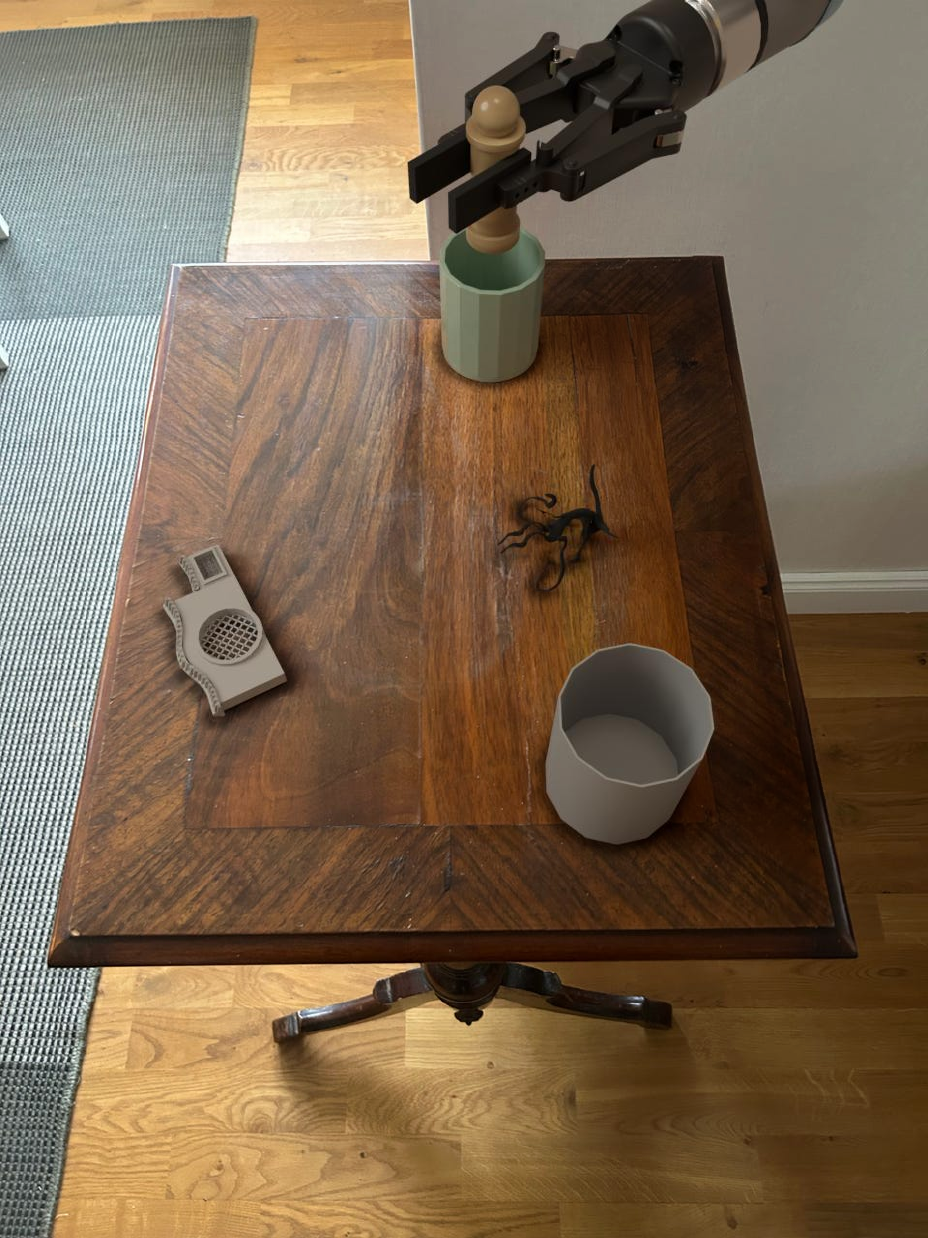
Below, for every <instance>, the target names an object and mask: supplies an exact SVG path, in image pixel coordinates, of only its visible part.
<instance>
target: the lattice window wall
mask: <svg viewBox="0 0 928 1238" xmlns="http://www.w3.org/2000/svg"><path fill="white" fill-rule="evenodd" d="M178 564H179V566H180V567H181V569H182V570H183V571H184V573H185V574H186V575H187V578H188V579H189V584H190V587H191V591H192V592H191V593H189V594H185V595H184V596H181V597H179V598H176V599H175V600H172V598H171V597H170V596H168V597H165V598H164V603H163V604H162V608H163V609H164V611H165V612H166V614H167V616H168V617H169V619H170V620H171V622H172V624H173V626H174V628H175V633H176V635H175V637H176V640H175V654H176V661H177V663H178V664H179V668H180V669H181V670H182V671H183V672H184V673H185V674H187V675H188V676H189V677H190V678H191V679H192V680H194V681H195V682H196V683H197V684H198V685H200V687H201V688H202V690H203V692H204V693H205V694H206V697H207V701H208V703H209V707H210V710H211V713H212V716H213V717H214V718H216V717H226V713H225V711H226V710H228V709H230V708H233V707H235V706H237V705H240V704H242V703H243V702H246V701H247V700H249V699H252V698H254V697H255V696H259V695H261V694H263V693H265V692H266V691H269V690H271V689H273V688H275V687H278V686H279V685H281V684H284V683H286V682H287V681H288V680H287V676H286V673H285V671H284V669H283V668H282V666H281V664H280V662H279V660H278V657H277V656H276V654H275V652H274V649H273V648H272V645H271V644H270V643H269V640H268V638H267V637H266V633H265V630H264V627H263V625H262V622H261V619H260V618H259V616H258V615H257V614H256V613H255V612H254V611H253V609H252V607H251V605H250V603H249V601H248V599H247V597H246V595H245V593H244V591H243V589H242V587H241V585H240V583H239V581H238V580H237V577H236V575H235V574H234V572H233V570H232V568H231V566H230V564H229V562H228V561H227V558H226V556H225V554H224V552H223V550H222V548H221V546H220V545H219V543H218V544H215V545H212V546H209V547H206V548H205V549H202V550H199V551H198V552H195V553H192V554H191V555H189V556H186V555H185V554H182V555H179V558H178ZM231 622H234V623H233V624H231ZM223 624H224V626H223V627H221V626H222V625H223ZM237 624H240V625H239V627H238V626H236V625H237ZM243 626H245V627H246V628H245V629H243V628H242V627H243ZM227 627H230V629H229V630H228V629H227ZM250 628H251V629H253V631H252V632H251V631H250V632H249V629H250ZM218 629H219V630H220V632H217V631H216V630H218ZM233 629H236V631H235V632H233ZM223 632H226V634H225V635H224V634H223ZM239 632H242V634H241V635H240V634H238V633H239ZM256 632H257V634H255V633H256ZM214 634H215V635H216V637H213V635H214ZM246 634H247V635H249V636H248V638H247V637H246V636H245V635H246ZM229 635H232V636H231V637H228V636H229ZM244 636H245V637H244ZM219 637H222V639H219ZM235 637H237V638H238V639H237V640H236V639H235ZM253 637H255V638H256V640H255V641H254V640H252V638H253ZM210 639H211V640H213V641H209V640H210ZM226 640H228V642H225V641H226ZM241 640H244V643H242V642H241ZM216 642H218V644H217V643H216ZM232 642H233V643H235V644H234V645H233V644H231V643H232ZM207 643H208V644H210V645H209V646H206V644H207ZM248 643H252V645H251V646H249V645H247V644H248ZM222 645H225V646H222ZM238 645H240V646H241V648H240V647H237V646H238ZM213 646H215V649H213V648H212V647H213ZM228 647H230V648H231V649H228ZM244 648H247V649H248V651H246V650H244ZM219 649H222V650H221V651H220V652H219V651H218V650H219ZM234 650H237V652H235V651H234ZM209 651H210V652H212V653H211V654H210V653H209ZM224 652H228V653H227V654H225V653H224ZM241 653H244V654H241ZM215 654H217V656H214V655H215ZM230 655H235V656H234V657H232V656H230ZM221 657H224V658H223V659H222V658H221Z"/></svg>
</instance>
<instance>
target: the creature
mask: <svg viewBox="0 0 928 1238" xmlns="http://www.w3.org/2000/svg"><path fill="white" fill-rule="evenodd" d="M595 467H596V464H595V463H594V464H592V465H591V467H590V471H589V478H588V479H589V481H588V483H589V487H590V491H591V493H592V494H593V498H594V504H595V507H594V508H595V510H591V509H590V508H586V507H578V508H575V509H571V510H570V511H567V512H564V513H562V514H560V515H553V514H552V513H550V512H548V511H545V510H543V509H539V508H535V509H536V510H538V511H539V512H541V514H542V515H543V516H544V517H546V515H545V514H548V515H550V516H552V517H553V518H554V519H551V520H550V521H548V520H547V518H545V520H546V524H545V525H544V524H543V523H541V522H539V521H532V520H530V519H529V518H526V517H524V516H522V515H521V513H520V510H521V507H522V506H523V505H524V503H525V502H527V501H529V500H531V499H533V500H536V501H539V502H542V503H543V504H544V506H545V507H546V508H547V509H548V510H551V509H552V508H554V507H555V506H556V505H557V502H558V500H557V496H556V494H553V493H550V492H549V493H544V496H545V497H546V498H549V499H550V500H551V501H548V500H547V499H546V498H544V497H541V496H538V495H537V496H529V497H527V498H526V499H524V500H523V501H522V502H521V503H520V504H519V506H518V508H517V512H516V514H517V516H518V517H519V518H520V519H523V520H525V521H526V523H525V524H523V526H522V527H521V528H520V529H519V530H515V531H514V530H513V531H511V532H508V533H506V535H505V536H504V537H503V538H502V539H501V540H500V541H499V542H498V543H497V546H500V545H502V544H503V543H504V542H505V541H506V540H507V538H508V537H520V536H522V535H524V533H525V530H527V529H528V528H529V527H530V526H532V525H533V526H534V527H535V528H536V529H537V530H538V531H532V532H530V533H528V534H526V535H525V537H524V538H523V540H522V541H521V542H513V543H509V544H507V546H506V547H504V548H503V549H502V550H501V551H500V552H499V553H500V555H502V554H504V553H505V552H506V551H507V550H508V549H509V548H513V547H515V548H525V547H526V546H527V544H528V541H529V540H530V539H531V538H532V537H533V536H535V535H541V536H542V537H543V538H544V540H545V541H546V542H547V543H550V544H551V543H555V542H562V543H563V544H562V546H561V548H560V549H559V561H560V564H558V566H560V572H559V575H558V578H557V581H556V583H555V584H554V585H553V586H551V587H550V588H548V589H540V588H539V587H538V582H539V581H540V579H541V578H542V577H543V576H544V574H545V572H546V570H547V568H548V566H549V565H550V564H554V565H555V563H554V562H553V561H552V560H550V558H548V559H547V561H546V563H545V567H544V569H543V571H542V573H541V574H540V575H539V577H538V578H537V580H536V581H535V585H534V586H535V588H536V590H538V591H539V592H542V593H548V592H551V591H553V590H556V589H557V588H558V587H559V586H560V585H561V583H562V580H563V578H564V576H565V573H566V566H567V565H568V564H569V563H577V562H579V561H580V558H581V554H582V551H584V550H583V549H584V547H585V545H586V544H587V542H588V540H589V539H590V537H591V536H593V535H594V534H596V533H598V532H600V531H601V532H603V533H604V534H606V535H608V536H611V537H612V538H615V539H619V536H617V535H615V534H613V533H612V532H610V528H609V526H608V525H607V524H606V522H605V519H604V516H603V513H602V506H601V501H600V496H599V491H598V489H597V485H596V482H595ZM573 520H578V521H580V523H581V534H580V536H581V537H582V539H583V541H582V544H581V546H580V548H578V550H577V552H576V555H575V558H573V559H570V560H568V561H566V563H565V558H564V552H565V550H566V549H567V546H568V542H569V540H568V536H567V535H563V533H564V531H565V529H566V526H569V525H570V524H571V522H572V521H573ZM537 524H539V526H540V527H539V526H538V525H537ZM544 532H545V533H548V534H545V533H544Z"/></svg>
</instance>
